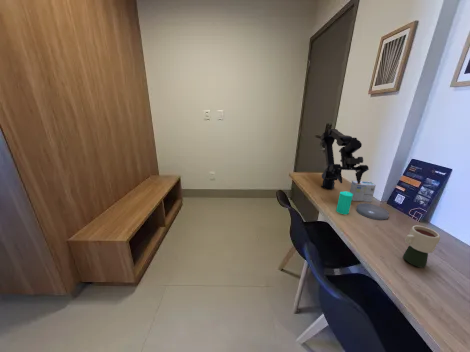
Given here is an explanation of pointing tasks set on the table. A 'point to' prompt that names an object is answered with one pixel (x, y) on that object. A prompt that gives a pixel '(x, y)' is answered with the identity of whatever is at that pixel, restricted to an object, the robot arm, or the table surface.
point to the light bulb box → (362, 191)
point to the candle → (344, 202)
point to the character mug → (420, 245)
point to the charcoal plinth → (372, 211)
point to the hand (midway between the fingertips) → (350, 183)
